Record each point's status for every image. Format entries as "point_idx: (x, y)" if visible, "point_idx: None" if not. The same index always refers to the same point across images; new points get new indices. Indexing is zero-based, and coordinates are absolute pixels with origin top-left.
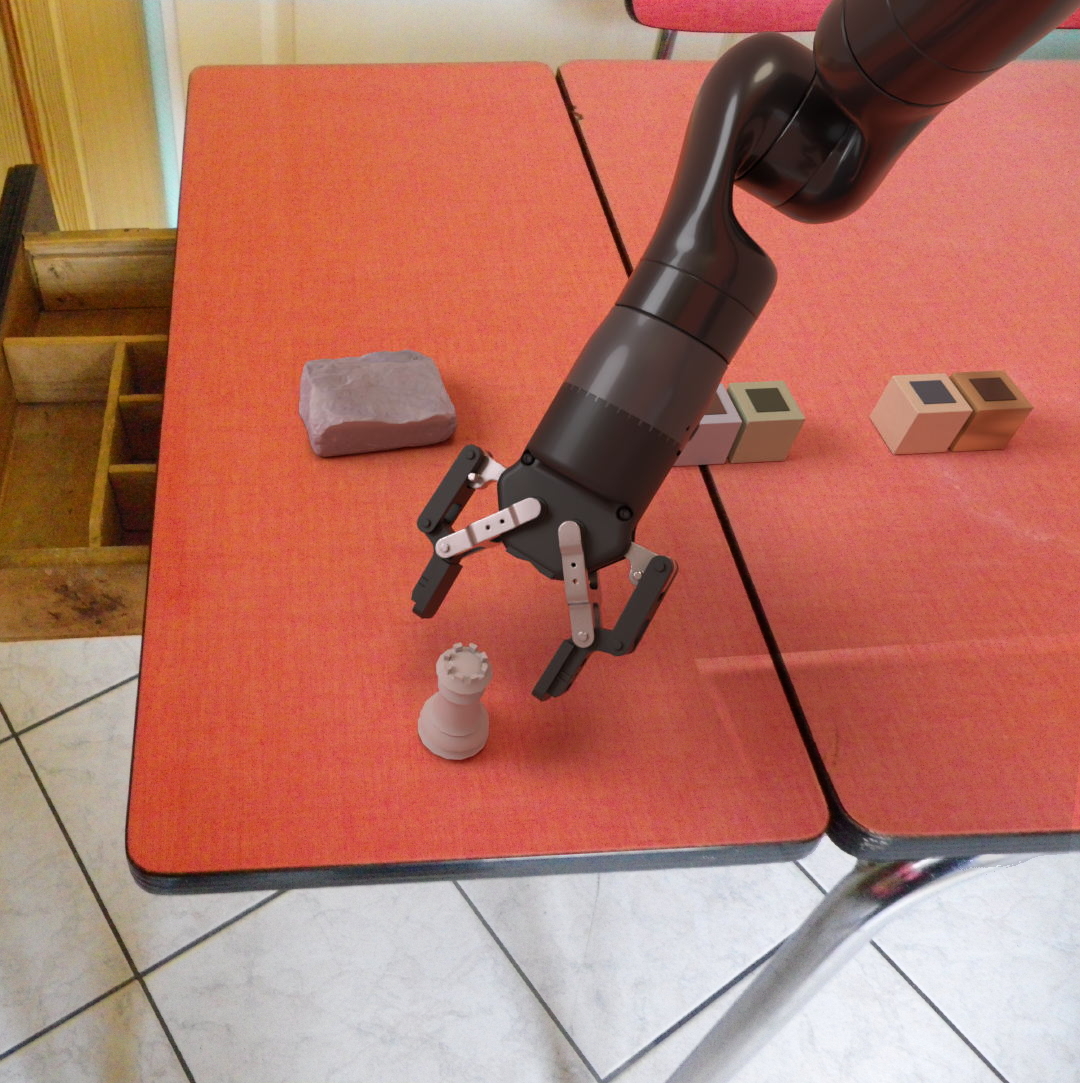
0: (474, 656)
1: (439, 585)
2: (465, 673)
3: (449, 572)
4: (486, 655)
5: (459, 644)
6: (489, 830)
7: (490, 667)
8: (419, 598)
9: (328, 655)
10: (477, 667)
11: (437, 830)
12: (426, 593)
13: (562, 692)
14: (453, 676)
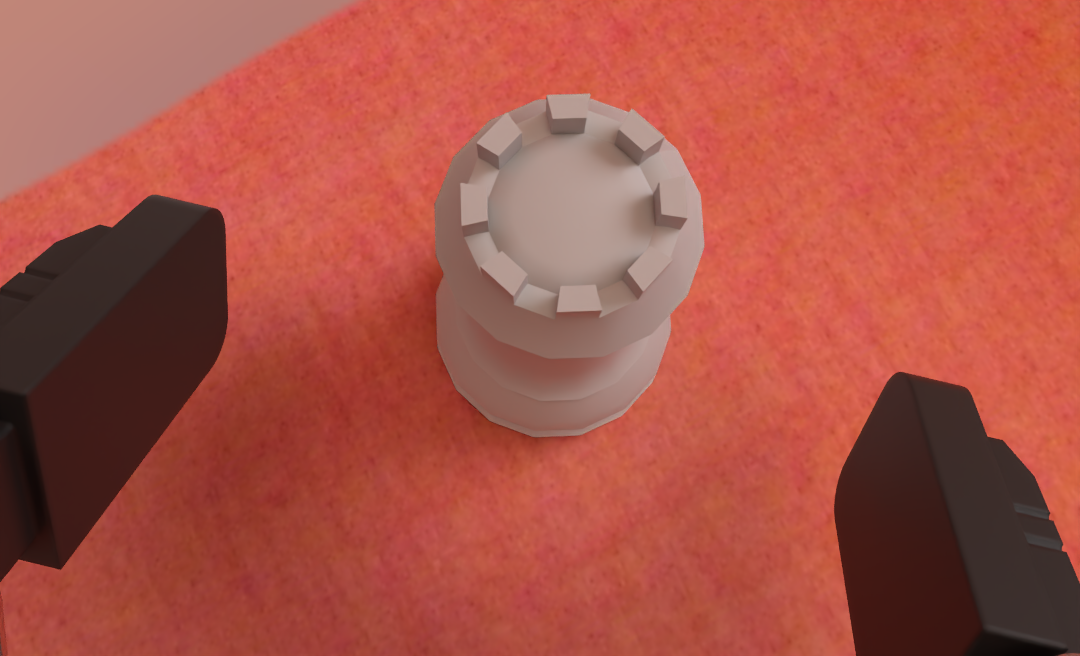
0: (550, 272)
1: (937, 516)
2: (549, 159)
3: (939, 623)
4: (492, 275)
5: (645, 276)
6: (328, 87)
7: (459, 279)
8: (977, 426)
9: (1037, 397)
10: (511, 218)
11: (461, 23)
12: (967, 451)
13: (56, 245)
14: (595, 121)
